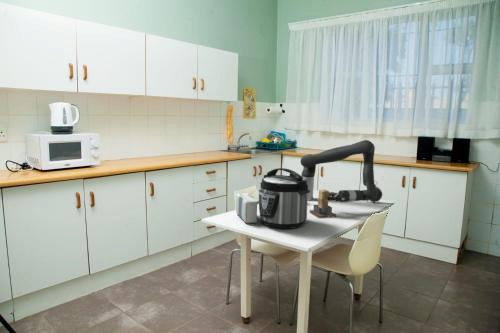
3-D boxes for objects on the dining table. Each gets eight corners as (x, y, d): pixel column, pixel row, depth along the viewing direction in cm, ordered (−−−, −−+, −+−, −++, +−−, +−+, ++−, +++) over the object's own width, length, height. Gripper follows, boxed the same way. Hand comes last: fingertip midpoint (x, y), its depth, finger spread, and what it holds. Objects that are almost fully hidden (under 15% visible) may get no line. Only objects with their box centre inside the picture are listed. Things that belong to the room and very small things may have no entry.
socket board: (318, 218, 217) (318, 209, 216) (309, 212, 228) (309, 204, 227) (335, 216, 220) (336, 208, 220) (326, 211, 232) (326, 203, 231)
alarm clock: (380, 202, 260) (382, 180, 258) (382, 204, 255) (384, 182, 253) (364, 201, 262) (366, 179, 259) (366, 203, 256) (368, 181, 254)
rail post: (321, 213, 221) (322, 191, 219) (317, 211, 226) (318, 189, 223) (327, 213, 223) (328, 191, 221) (323, 211, 227) (325, 189, 225)
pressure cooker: (253, 215, 218) (254, 164, 213) (297, 214, 223) (300, 164, 218) (262, 232, 189) (265, 173, 184) (313, 230, 193) (317, 173, 189)
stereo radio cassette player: (235, 214, 220) (235, 182, 217) (247, 213, 223) (248, 182, 219) (244, 224, 200) (245, 189, 197) (258, 223, 203) (259, 189, 200)
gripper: (341, 187, 234) (319, 188, 229) (353, 192, 220) (330, 193, 215) (340, 198, 235) (318, 200, 230) (352, 204, 221) (329, 205, 217)
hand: (324, 197), depth 223 cm, fingers open, 8 cm apart
